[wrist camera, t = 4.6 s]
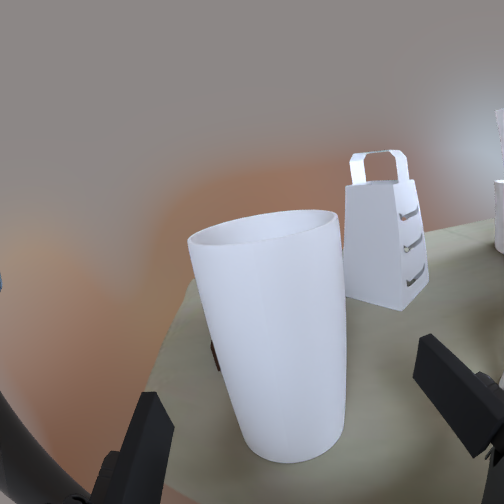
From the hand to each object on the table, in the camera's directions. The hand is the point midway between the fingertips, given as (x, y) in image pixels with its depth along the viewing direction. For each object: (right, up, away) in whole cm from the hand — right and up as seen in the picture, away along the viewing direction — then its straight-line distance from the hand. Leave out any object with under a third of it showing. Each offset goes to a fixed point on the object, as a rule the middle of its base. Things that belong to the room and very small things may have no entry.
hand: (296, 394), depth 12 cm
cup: (+1, -7, +8) cm, 11 cm away
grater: (+18, +1, +27) cm, 32 cm away
